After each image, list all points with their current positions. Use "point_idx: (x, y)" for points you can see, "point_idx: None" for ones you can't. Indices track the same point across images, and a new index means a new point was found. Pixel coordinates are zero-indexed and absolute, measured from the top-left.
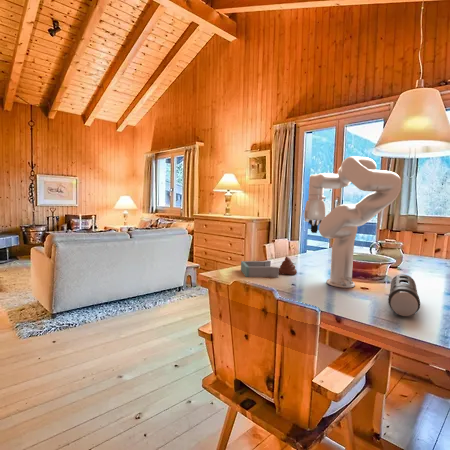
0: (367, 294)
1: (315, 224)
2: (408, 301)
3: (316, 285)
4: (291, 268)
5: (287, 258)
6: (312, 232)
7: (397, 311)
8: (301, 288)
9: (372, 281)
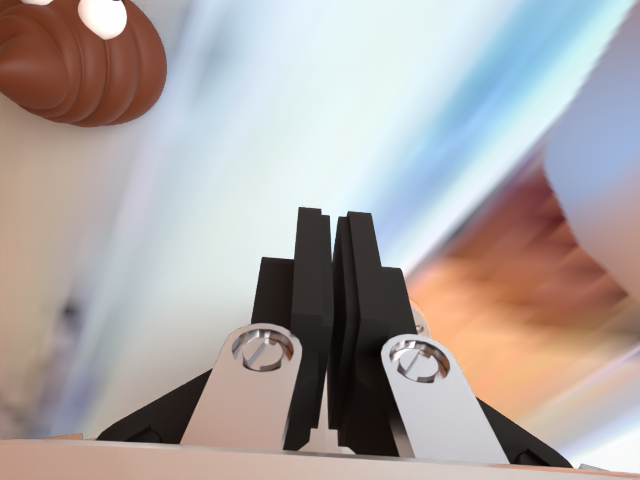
0: None
1: (345, 434)
2: None
3: (203, 341)
4: (89, 126)
5: (12, 96)
6: (294, 256)
7: None
8: (100, 373)
9: (596, 313)
